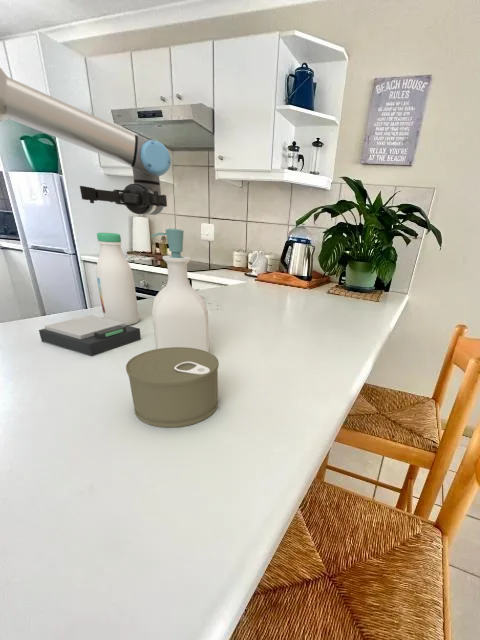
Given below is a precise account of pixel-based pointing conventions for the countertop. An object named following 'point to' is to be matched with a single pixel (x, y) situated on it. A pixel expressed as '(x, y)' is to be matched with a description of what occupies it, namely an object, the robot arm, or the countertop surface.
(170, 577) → the countertop surface
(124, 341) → the kitchen scale
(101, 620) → the countertop surface
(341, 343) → the countertop surface
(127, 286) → the milk bottle
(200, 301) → the soap bottle
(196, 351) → the can
